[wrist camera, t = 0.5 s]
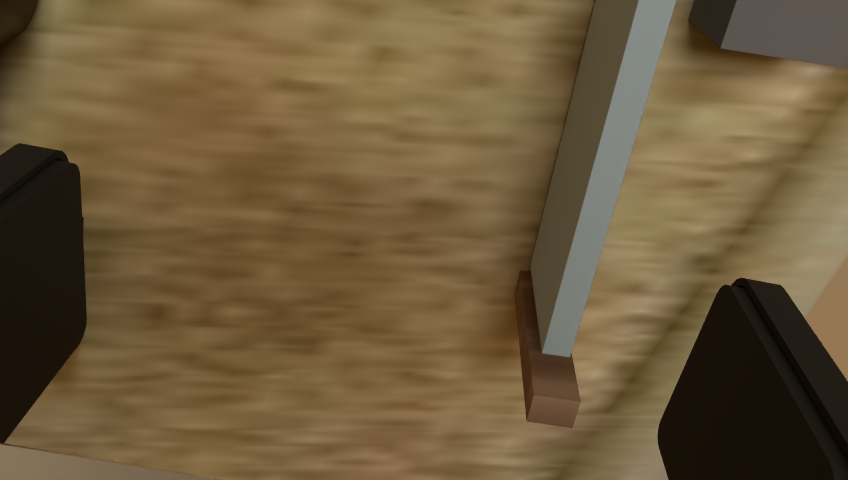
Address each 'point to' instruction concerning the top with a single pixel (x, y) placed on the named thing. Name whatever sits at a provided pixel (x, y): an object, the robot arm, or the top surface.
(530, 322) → the door frame
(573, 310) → the door
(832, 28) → the doorstop block
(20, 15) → the ink bottle
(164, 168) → the top surface
